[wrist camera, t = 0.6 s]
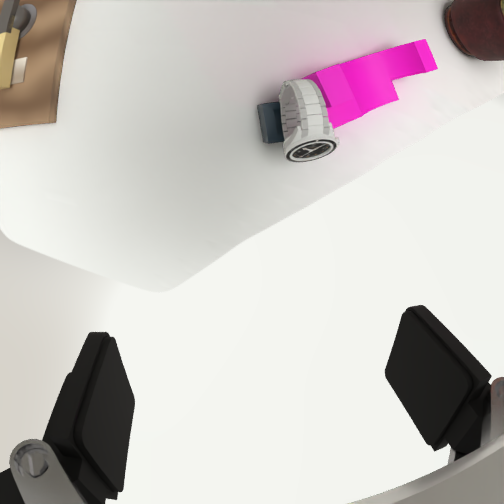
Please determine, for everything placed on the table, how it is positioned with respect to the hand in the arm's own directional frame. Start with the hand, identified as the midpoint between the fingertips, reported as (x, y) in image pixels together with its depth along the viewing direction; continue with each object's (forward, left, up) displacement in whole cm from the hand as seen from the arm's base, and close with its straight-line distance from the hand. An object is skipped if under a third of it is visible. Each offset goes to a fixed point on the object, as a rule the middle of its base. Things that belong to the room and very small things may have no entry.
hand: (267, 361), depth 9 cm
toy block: (-15, +15, -29) cm, 36 cm away
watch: (-8, +6, -29) cm, 31 cm away
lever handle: (-21, -28, -27) cm, 44 cm away
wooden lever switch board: (-18, -29, -29) cm, 45 cm away
